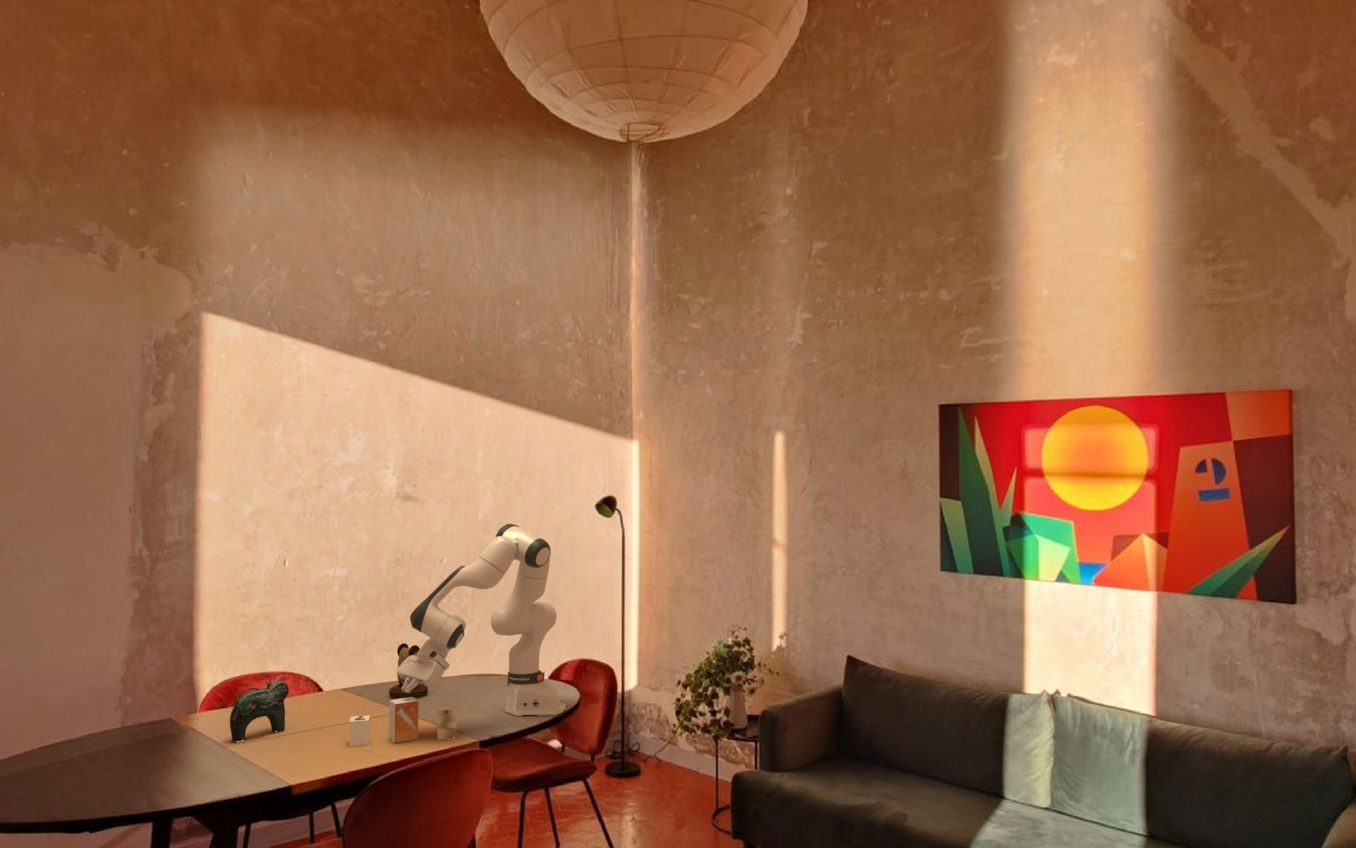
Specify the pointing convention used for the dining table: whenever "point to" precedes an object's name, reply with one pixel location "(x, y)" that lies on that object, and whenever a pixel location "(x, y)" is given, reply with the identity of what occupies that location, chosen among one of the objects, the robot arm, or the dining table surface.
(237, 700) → the bronze animal figurine
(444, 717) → the beech block
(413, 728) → the small box
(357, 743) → the off-white block
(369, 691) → the dining table surface
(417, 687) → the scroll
